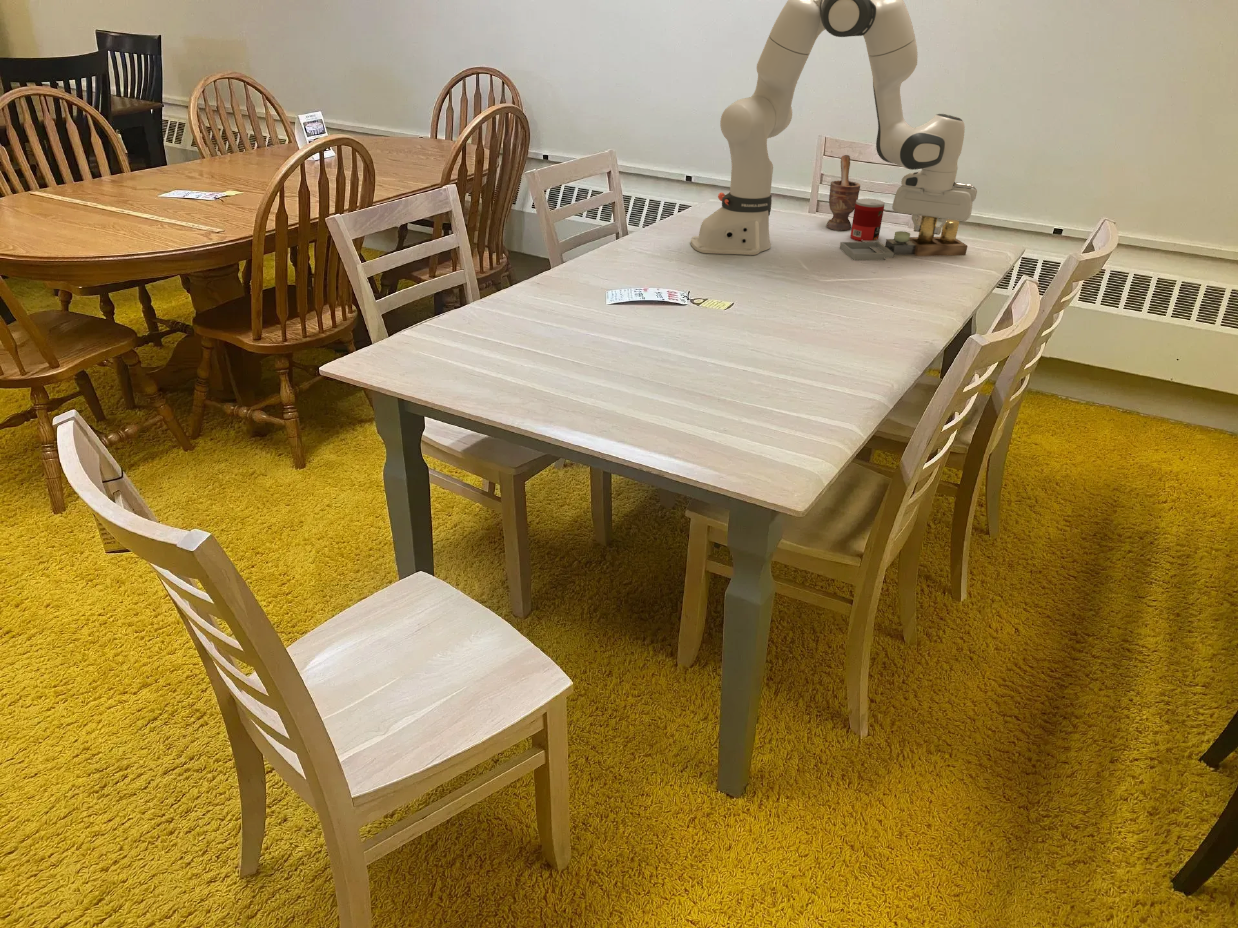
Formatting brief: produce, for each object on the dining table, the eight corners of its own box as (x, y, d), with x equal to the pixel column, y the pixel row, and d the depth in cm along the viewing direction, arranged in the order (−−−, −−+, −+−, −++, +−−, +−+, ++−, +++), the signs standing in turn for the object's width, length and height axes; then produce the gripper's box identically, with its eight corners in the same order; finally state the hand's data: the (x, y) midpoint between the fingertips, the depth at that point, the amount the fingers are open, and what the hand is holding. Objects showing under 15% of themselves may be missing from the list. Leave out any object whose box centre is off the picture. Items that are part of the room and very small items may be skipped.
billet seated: (941, 252, 228) (947, 223, 224) (935, 248, 232) (941, 219, 228) (955, 252, 229) (962, 223, 225) (948, 248, 232) (955, 219, 228)
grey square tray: (853, 262, 223) (854, 254, 222) (839, 250, 233) (840, 242, 232) (892, 261, 224) (894, 253, 223) (877, 249, 234) (878, 241, 233)
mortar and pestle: (815, 222, 258) (824, 154, 247) (840, 220, 260) (850, 153, 249) (832, 232, 248) (842, 162, 238) (858, 230, 250) (869, 161, 240)
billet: (920, 247, 227) (926, 218, 223) (914, 243, 230) (919, 214, 226) (934, 247, 227) (940, 217, 223) (927, 243, 231) (933, 213, 227)
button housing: (892, 258, 227) (894, 245, 225) (884, 251, 232) (886, 239, 230) (913, 257, 227) (916, 245, 226) (904, 251, 232) (907, 239, 231)
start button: (895, 253, 227) (898, 235, 225) (889, 248, 230) (892, 231, 228) (909, 252, 227) (912, 235, 225) (903, 248, 231) (906, 231, 228)
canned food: (878, 245, 238) (885, 205, 232) (850, 243, 239) (856, 204, 233) (877, 237, 244) (884, 199, 238) (849, 235, 245) (855, 197, 240)
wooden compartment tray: (915, 259, 226) (918, 246, 224) (902, 249, 234) (904, 237, 232) (964, 258, 227) (967, 245, 226) (949, 248, 235) (952, 236, 233)
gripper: (980, 183, 218) (968, 235, 225) (901, 173, 226) (892, 224, 233) (976, 187, 213) (964, 241, 220) (895, 178, 222) (886, 230, 229)
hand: (926, 232), depth 227 cm, fingers closed on billet, 4 cm apart
